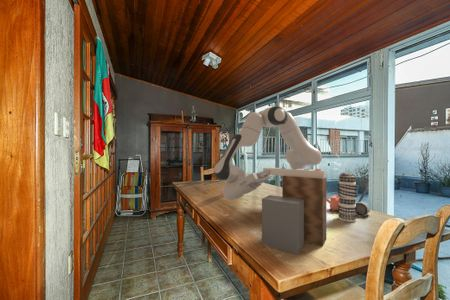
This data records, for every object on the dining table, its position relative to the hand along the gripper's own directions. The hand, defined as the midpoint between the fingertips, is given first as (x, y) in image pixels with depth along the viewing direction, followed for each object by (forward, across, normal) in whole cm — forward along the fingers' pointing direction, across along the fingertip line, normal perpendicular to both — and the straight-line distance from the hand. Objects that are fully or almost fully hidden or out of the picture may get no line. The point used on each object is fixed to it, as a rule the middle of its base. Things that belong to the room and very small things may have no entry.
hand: (271, 170), depth 96 cm
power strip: (+8, 0, +7) cm, 10 cm away
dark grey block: (-6, -12, +29) cm, 32 cm away
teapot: (+4, +55, +35) cm, 65 cm away
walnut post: (-1, 0, +32) cm, 32 cm away
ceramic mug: (+14, +52, +40) cm, 68 cm away
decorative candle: (+10, +38, +38) cm, 55 cm away
